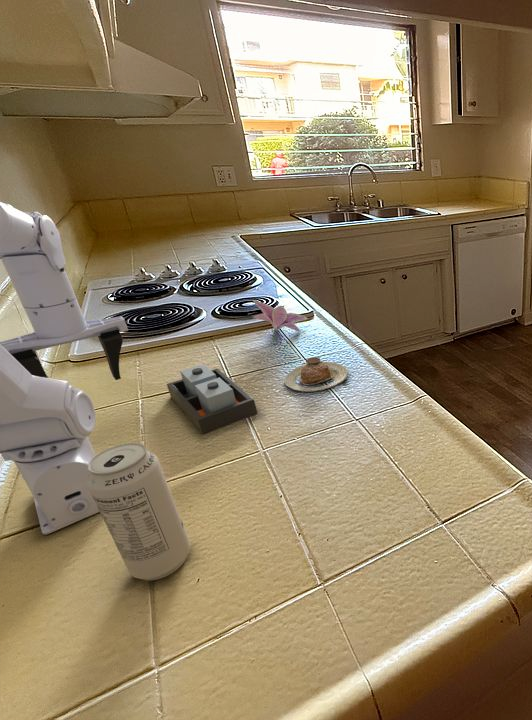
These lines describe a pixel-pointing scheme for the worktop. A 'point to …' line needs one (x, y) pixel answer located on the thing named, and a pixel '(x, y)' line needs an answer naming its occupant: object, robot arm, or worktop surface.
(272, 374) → the worktop surface
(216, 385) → the grey knobbed block
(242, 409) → the tray
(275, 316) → the lily
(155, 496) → the energy drink can
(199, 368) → the grey block with knob
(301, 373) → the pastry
